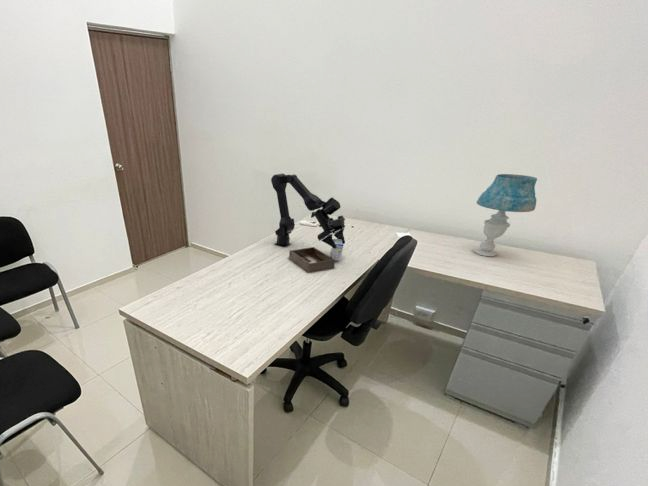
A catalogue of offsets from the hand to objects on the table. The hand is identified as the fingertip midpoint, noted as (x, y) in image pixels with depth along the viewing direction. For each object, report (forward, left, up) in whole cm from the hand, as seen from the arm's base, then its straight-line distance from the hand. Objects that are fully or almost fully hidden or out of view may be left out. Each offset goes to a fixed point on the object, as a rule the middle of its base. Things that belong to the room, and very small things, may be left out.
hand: (340, 245), depth 167 cm
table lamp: (+59, +60, -8) cm, 85 cm away
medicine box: (-1, 0, -7) cm, 7 cm away
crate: (-9, -12, -8) cm, 17 cm away
